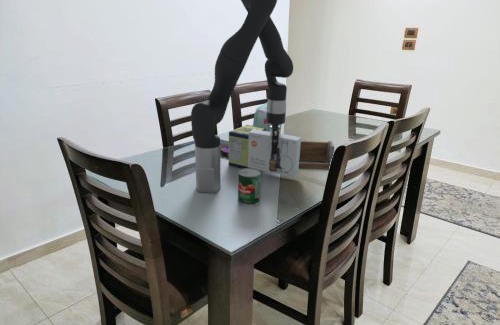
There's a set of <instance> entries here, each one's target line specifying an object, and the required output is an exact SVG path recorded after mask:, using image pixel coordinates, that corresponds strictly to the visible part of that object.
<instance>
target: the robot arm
mask: <svg viewBox="0 0 500 325" xmlns="http://www.w3.org/2000/svg"><path fill="white" fill-rule="evenodd" d="M240 2H241V3H242V5H243V7H244V9H245V10H246V12H247V15H246V17H245V20H243V23H242V25H241V26H240V28H239V29H238V30H237V31H236V32H235V33H234V34H232V35H231V36H230V37H229V38H227V39H226V41H224V43H223V44H222V46H221V48H220V50H219V53H218V56H217V59H216V61H215V65H214V82H213V87H212V90H211V91H210V94H209V96H208V97H207V98H206V100H203V101H200V102H197V103H195V104H194V105H193V106H192V108H191V113H190V121H191V122H190V123H191V135H192V138H193V141H194V151H195V152H194V156H195V161H194V162H195V185H196V186H195V188H196V190H197V192H198V193H208V194H209V193H210V194H211V193H212V194H215V193H216V192H217V191H219V190H220V189H221V183H222V182H221V156H220V139H221V138H220V136H219V135H216V134H215V126H216V125H218V124H220V123H221V121H222V120H223V119H224V117H225V114H226V111H227V109H228V106H229V102H230V99H231V97H232V94H233V91H234V90H235V87H236V86H237V84H238V81H239V79H240V77H241V75H242V74H243V71H244V69H245V67H246V64H247V62H248V60H249V58H250V55H251V53H252V51H253V49H254V46H255V44H256V42H257V40H258V39H259V41H260V45H261V48H262V50H263V53H264V56H265V58H266V59H267V60H266V61H265V63H264V73H265V77H266V83H267V88H268V90H267V91H268V92H267V102H266V103H267V113H266V122H267V123H269V124H272V126H270V133H271V140H272V143H271V144H272V150H271V153H272V154H277V145H278V144H279V143H278V140H279V135H280V134H281V133H280V126H279V124H282V125H284V124H285V123H286V113H287V112H286V111H287V94H288V93H287V90H288V89H287V85H286V84H284V83H282V82H279V81H278V79H277V78H282V79H283V78H289V77H291V76H292V74H293V72H294V63H293V60H292V58H291V56H290V55H289V54H288V52H287V50H285V48H284V44H283V41H282V37H281V35H280V32H279V30H278V29H277V26H276V25H275V23H274V21H273V19H272V17H271V15H272V14H273V12H274V10H275V7H276V5H277V3H278V0H240ZM273 140H277V142H273Z"/></svg>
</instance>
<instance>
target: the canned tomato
mask: <svg viewBox="0 0 500 325" xmlns="http://www.w3.org/2000/svg"><path fill="white" fill-rule="evenodd" d="M237 173H238V174H237V178H238V179H237V183H238V187H237V201H238V203H239V204H241V205H244V206H256V205H257V204H260V201H261V178H262V177H261V175H262V170H259V169H255V168H239V170H238V172H237Z"/></svg>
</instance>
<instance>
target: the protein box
mask: <svg viewBox="0 0 500 325" xmlns="http://www.w3.org/2000/svg"><path fill="white" fill-rule="evenodd" d="M253 129H256V130H262V131H266V128H262V127H256V126H253V125H249V124H245V125H242V126H240V127H238V128H235V129H232V130H231V131H229V132H228V141H229V158H228V166H232V167H235V168H239V169H243V168H250V167H248V144H249V132H250V131H251V130H253Z"/></svg>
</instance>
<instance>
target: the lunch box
mask: <svg viewBox="0 0 500 325" xmlns="http://www.w3.org/2000/svg"><path fill="white" fill-rule="evenodd" d="M266 113H267V102H265V103H264V104H262V105H259V106H257V107H256V109H255V112H254V115H253V121H252V126H256V127H262V128H266V131H267V132H270V126H272V124H269V123H267V122H266ZM282 125H283V124H279V126H280V134H282V133H281V132H282Z"/></svg>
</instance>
